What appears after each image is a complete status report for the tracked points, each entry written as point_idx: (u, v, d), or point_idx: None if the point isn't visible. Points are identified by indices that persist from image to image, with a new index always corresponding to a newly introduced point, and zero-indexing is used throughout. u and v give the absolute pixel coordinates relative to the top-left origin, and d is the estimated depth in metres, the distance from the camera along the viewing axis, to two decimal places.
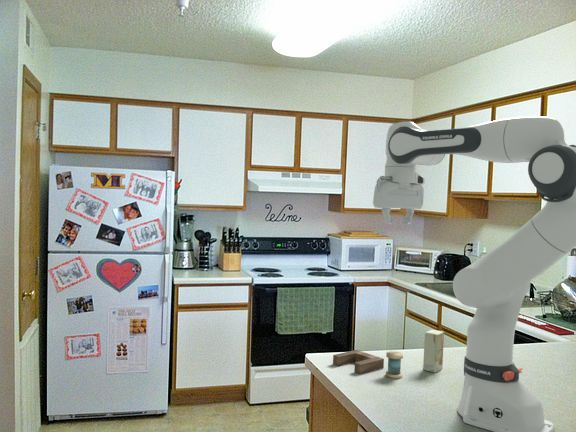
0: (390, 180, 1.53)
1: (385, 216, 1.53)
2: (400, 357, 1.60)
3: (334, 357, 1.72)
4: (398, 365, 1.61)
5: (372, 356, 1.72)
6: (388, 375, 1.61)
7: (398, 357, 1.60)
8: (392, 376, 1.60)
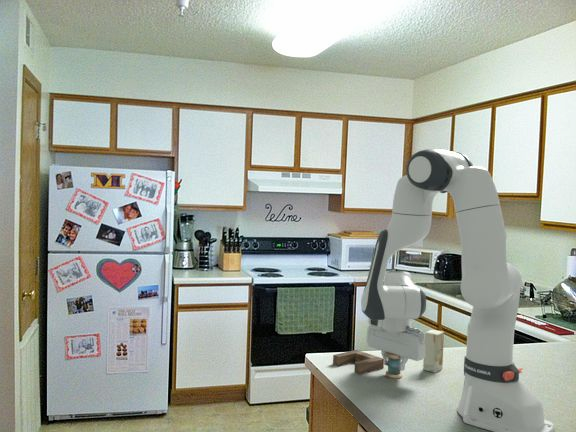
0: None
1: (403, 363, 1.59)
2: None
3: (334, 357, 1.72)
4: None
5: (372, 356, 1.72)
6: (388, 375, 1.61)
7: (398, 357, 1.60)
8: (392, 376, 1.60)
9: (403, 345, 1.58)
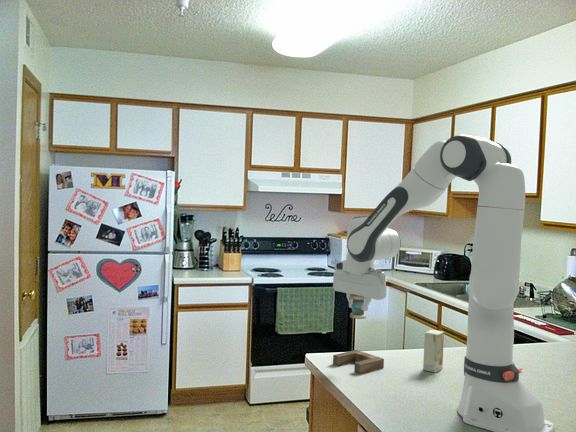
0: None
1: (366, 304, 1.67)
2: (363, 298, 1.68)
3: (334, 357, 1.72)
4: None
5: (372, 356, 1.72)
6: (352, 316, 1.69)
7: (361, 298, 1.68)
8: (355, 316, 1.68)
9: (366, 286, 1.65)
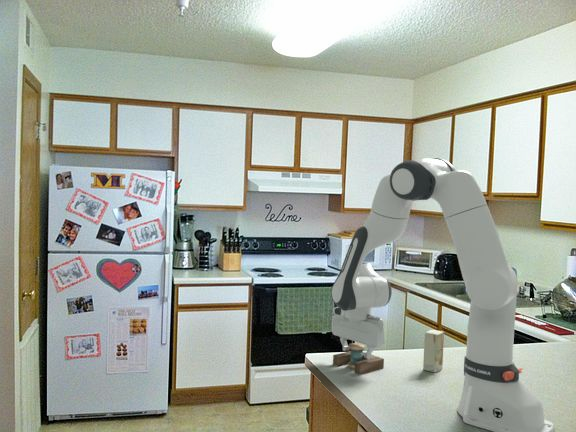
0: None
1: (369, 352, 1.66)
2: (361, 348, 1.68)
3: (334, 357, 1.72)
4: (360, 356, 1.69)
5: (372, 356, 1.72)
6: (350, 366, 1.69)
7: (359, 348, 1.68)
8: (354, 367, 1.68)
9: (364, 333, 1.66)
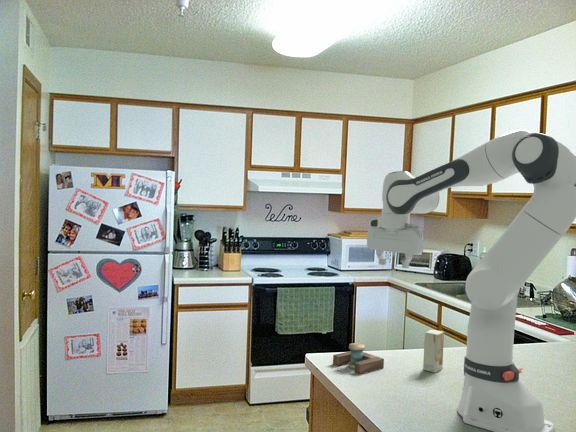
0: None
1: (408, 261, 1.63)
2: (361, 348, 1.68)
3: (334, 357, 1.72)
4: (360, 356, 1.69)
5: (372, 356, 1.72)
6: (350, 366, 1.69)
7: (359, 348, 1.68)
8: (354, 367, 1.68)
9: (402, 241, 1.63)
